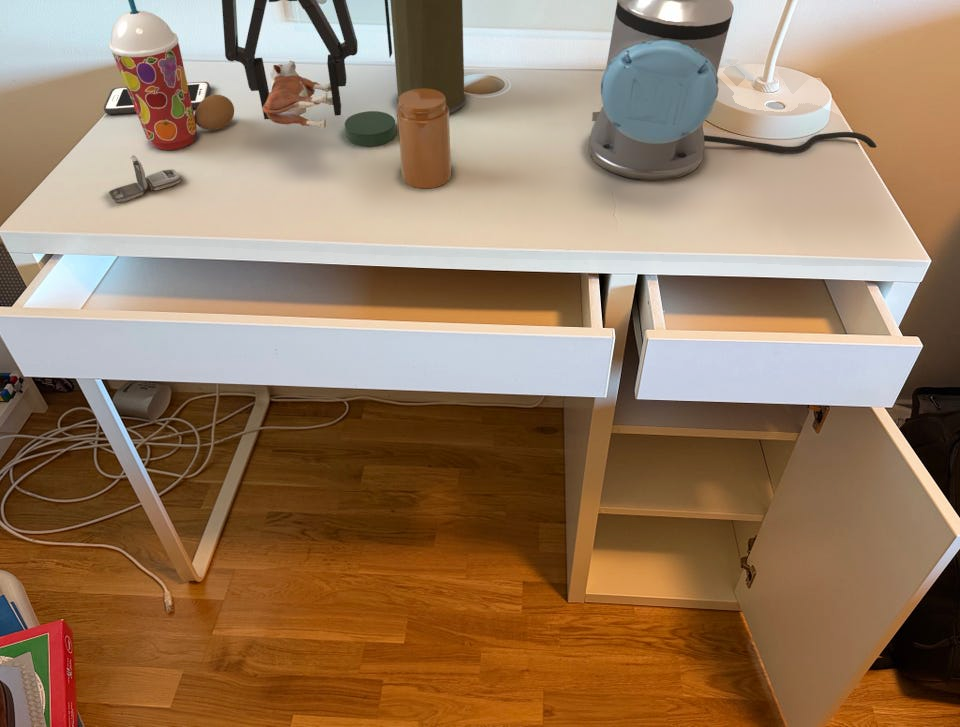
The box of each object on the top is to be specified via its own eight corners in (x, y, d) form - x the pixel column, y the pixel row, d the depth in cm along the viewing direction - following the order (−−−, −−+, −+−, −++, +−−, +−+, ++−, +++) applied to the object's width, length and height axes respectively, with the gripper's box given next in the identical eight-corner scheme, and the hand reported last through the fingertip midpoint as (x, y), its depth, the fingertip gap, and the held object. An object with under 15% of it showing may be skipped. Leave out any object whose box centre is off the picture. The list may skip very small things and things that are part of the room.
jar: (456, 166, 100) (454, 89, 93) (443, 191, 95) (439, 112, 88) (411, 160, 101) (405, 84, 94) (395, 185, 97) (388, 106, 89)
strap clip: (174, 173, 99) (164, 143, 96) (182, 182, 97) (172, 152, 94) (109, 194, 95) (96, 164, 92) (116, 204, 93) (103, 173, 91)
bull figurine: (337, 59, 96) (271, 52, 95) (322, 105, 86) (250, 98, 86) (337, 93, 99) (274, 86, 98) (323, 140, 89) (253, 134, 88)
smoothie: (174, 122, 109) (129, -27, 96) (217, 134, 107) (177, -17, 93) (129, 146, 104) (75, -7, 90) (174, 160, 101) (125, 4, 87)
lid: (368, 118, 110) (366, 106, 109) (406, 130, 107) (405, 118, 106) (335, 138, 106) (333, 126, 105) (375, 151, 103) (373, 139, 102)
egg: (219, 95, 109) (184, 116, 107) (222, 82, 105) (186, 104, 103) (239, 121, 110) (205, 142, 108) (243, 109, 106) (208, 131, 104)
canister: (469, 88, 117) (467, -54, 103) (461, 118, 110) (458, -30, 96) (400, 85, 118) (389, -56, 104) (388, 115, 111) (374, -32, 97)
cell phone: (113, 94, 116) (111, 87, 116) (211, 87, 118) (209, 80, 117) (104, 115, 111) (101, 109, 110) (206, 108, 113) (205, 101, 112)
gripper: (367, -108, 82) (385, 95, 98) (171, -102, 80) (222, 103, 96) (367, -90, 76) (387, 121, 92) (158, -83, 75) (214, 131, 91)
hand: (303, 112), depth 94 cm, fingers closed on bull figurine, 8 cm apart
